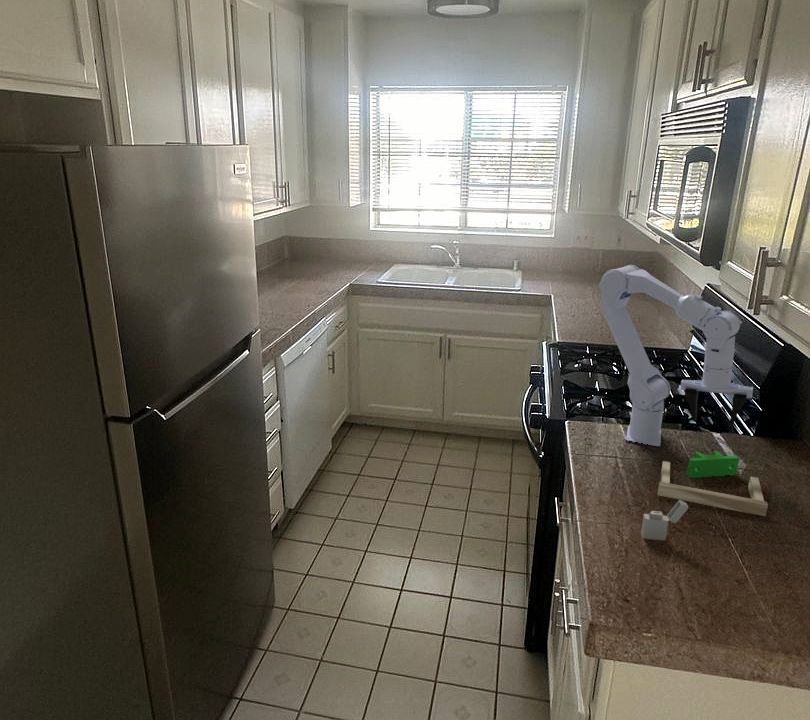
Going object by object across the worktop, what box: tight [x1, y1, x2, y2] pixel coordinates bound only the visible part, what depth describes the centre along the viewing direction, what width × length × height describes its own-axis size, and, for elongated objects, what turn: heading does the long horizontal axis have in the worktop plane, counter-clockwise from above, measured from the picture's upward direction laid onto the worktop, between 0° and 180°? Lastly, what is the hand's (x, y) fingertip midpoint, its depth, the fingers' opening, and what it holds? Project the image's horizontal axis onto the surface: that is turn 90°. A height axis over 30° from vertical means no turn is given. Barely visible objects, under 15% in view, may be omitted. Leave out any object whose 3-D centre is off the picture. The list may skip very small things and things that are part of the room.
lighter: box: [640, 499, 689, 541], centre depth 113 cm, size 7×2×8 cm, turn 81°
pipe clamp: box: [686, 450, 740, 479], centre depth 136 cm, size 11×4×5 cm, turn 97°
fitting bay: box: [657, 460, 769, 517], centre depth 129 cm, size 12×20×2 cm, turn 67°
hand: (712, 422), depth 140 cm, fingers open, 7 cm apart
